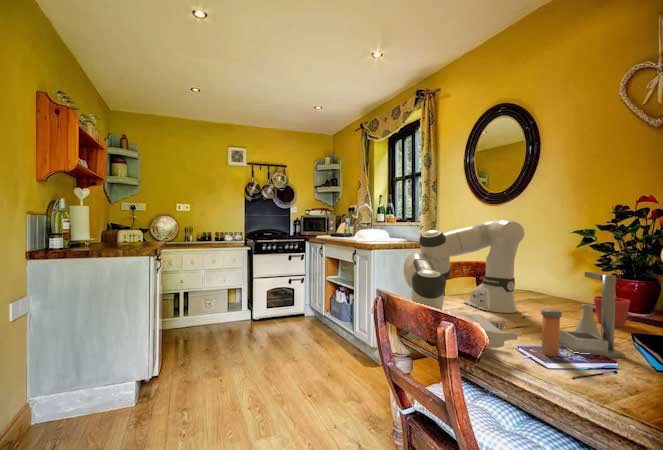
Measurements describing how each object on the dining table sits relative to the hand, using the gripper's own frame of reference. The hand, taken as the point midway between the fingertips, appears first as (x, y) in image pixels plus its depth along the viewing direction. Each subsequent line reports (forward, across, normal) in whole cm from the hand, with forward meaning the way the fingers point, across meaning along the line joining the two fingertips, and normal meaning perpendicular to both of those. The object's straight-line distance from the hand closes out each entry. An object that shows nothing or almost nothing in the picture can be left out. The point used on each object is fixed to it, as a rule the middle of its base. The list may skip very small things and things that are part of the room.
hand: (509, 330), depth 96 cm
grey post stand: (+25, -10, -6) cm, 27 cm away
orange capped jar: (+11, 0, -6) cm, 12 cm away
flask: (+33, -23, -6) cm, 41 cm away
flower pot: (+51, -41, -6) cm, 66 cm away
